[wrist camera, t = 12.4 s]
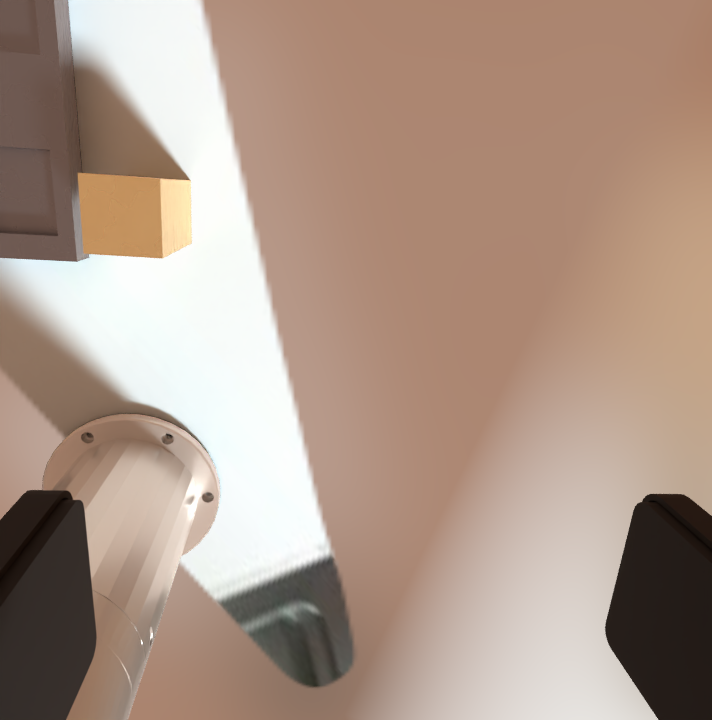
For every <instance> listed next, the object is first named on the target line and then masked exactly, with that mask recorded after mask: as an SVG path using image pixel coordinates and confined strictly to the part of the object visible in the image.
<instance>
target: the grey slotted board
mask: <svg viewBox="0 0 712 720" xmlns="http://www.w3.org/2000/svg"><path fill="white" fill-rule="evenodd" d="M78 173H82V166H81V154H80V142H79V130H78V118H77V105H76V93H75V81H74V69H73V56H72V44H71V32H70V20H69V7H68V0H0V258H16V259H36V260H56V261H76V262H77V261H80V260H83V259H86V258H89V254H84V253H83V239H82V226H81V213H80V199H79V186H78Z"/></svg>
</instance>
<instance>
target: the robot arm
mask: <svg viewBox="0 0 712 720" xmlns="http://www.w3.org/2000/svg"><path fill="white" fill-rule="evenodd" d="M89 433H91V434H92V435H91V434H89ZM167 434H171V435H172V436H171V437H170V436H168V435H167ZM207 492H209V493H207ZM219 500H220V483H219V478H218V474H217V471H216V467H215V465H214V464H213V462H212V460H211V458H210V456H209V454H208V453H207V452H206V450H205V449H204V448H203V447H202V446H201V444H200V443H199V442H198V441H197V440H196V439H194V438H193V437H192V436H191V435H190V434H188V433H187V432H186V431H184V430H182V429H181V428H179V427H177V426H176V425H174V424H172V423H170V422H167V421H164V420H161V419H159V418H156V417H151V416H146V415H140V414H117V415H111V416H105V417H102V418H99V419H96V420H93V421H90V422H88V423H86V424H84V425H83V426H81V427H79V428H78V429H76V430H74V431H73V432H72V433H71V434H70V435H69V436H68V437H67V438H65V439H64V440H63V442H62V443H61V444H60V445H59V446H58V447H57V449H56V450H55V451H54V452H53V454H52V456H51V458H50V459H49V461H48V463H47V466H46V469H45V472H44V476H43V485H42V490H30V491H27V492H26V493H24V494H23V495H22V496H21V498H20V499H19V500H18V501H17V502H16V503H15V504H14V505H13V506H12V508H11V509H10V510H9V511H8V512H7V513H6V514H5V515H4V516H3V518H2V519H1V520H0V720H128V718H129V715H130V711H131V708H132V705H133V702H134V699H135V696H136V693H137V689H138V687H139V683H140V680H141V678H142V675H143V672H144V669H145V666H146V663H147V660H148V656H149V654H150V651H151V647H152V644H153V641H154V638H155V635H156V632H157V629H158V626H159V623H160V620H161V617H162V614H163V610H164V607H165V604H166V601H167V598H168V595H169V592H170V589H171V586H172V583H173V580H174V577H175V574H176V571H177V567H178V565H179V562H180V558H181V556H183V555H184V554H186V553H188V552H189V551H191V550H192V549H193V548H194V547H195V546H197V545H198V544H199V543H200V542H201V541H202V539H203V538H204V537H205V536H206V535H207V533H208V532H209V530H210V528H211V526H212V524H213V522H214V520H215V517H216V514H217V510H218V506H219ZM605 631H606V637H607V640H608V643H609V646H610V647H611V649H612V651H613V652H614V654H615V655H616V657H617V658H618V660H619V661H620V663H621V664H622V666H623V667H624V669H625V670H626V672H627V673H628V675H629V676H630V678H631V679H632V681H633V682H634V684H635V685H636V687H637V688H638V690H639V691H640V693H641V694H642V696H643V697H644V699H645V700H646V702H647V703H648V705H649V706H650V708H651V709H652V711H653V712H654V714H655V715H656V717H657V718H658V720H712V516H711V515H710V514H708V513H707V512H706V511H705V510H703V509H702V508H701V507H700V506H699V505H697V504H696V503H695V502H694V501H692V500H691V499H690V498H688V497H687V496H685V495H682V494H649V495H647V496H646V497H645V498H644V499H643V501H642V502H640V503H638V504H637V505H636V506H635V509H634V511H633V515H632V519H631V523H630V527H629V532H628V536H627V539H626V544H625V548H624V552H623V556H622V560H621V564H620V568H619V572H618V576H617V580H616V584H615V588H614V592H613V596H612V600H611V604H610V609H609V612H608V616H607V620H606V626H605Z"/></svg>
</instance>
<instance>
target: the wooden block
mask: <svg viewBox="0 0 712 720" xmlns="http://www.w3.org/2000/svg"><path fill="white" fill-rule="evenodd" d="M78 186H79V199H80V213H81V226H82V239H83V253H84V254H99V255H116V256H133V257H150V258H164V257H166V256H168V255H170V254H172V253H174V252H176V251H178V250H180V249H181V248H183V247H185V246H187V245H189V244H191V243H192V237H191V180H178V179H165V178H151V177H138V176H124V175H107V174H90V173H78Z"/></svg>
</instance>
